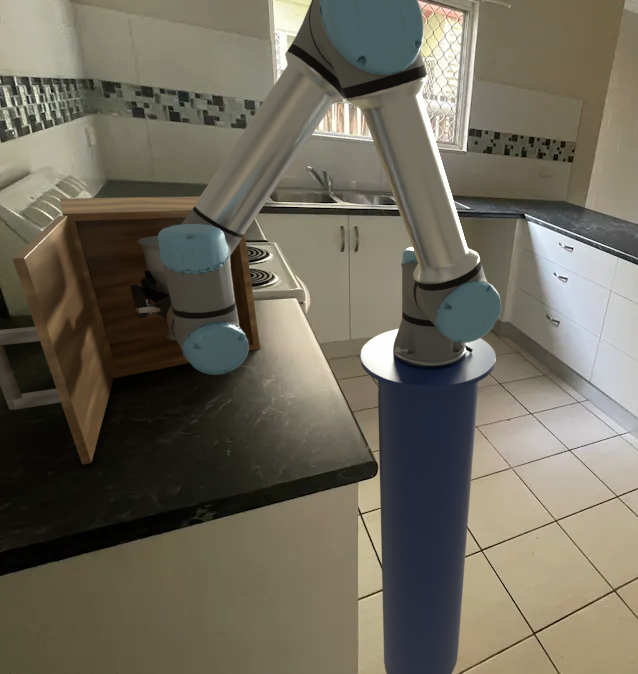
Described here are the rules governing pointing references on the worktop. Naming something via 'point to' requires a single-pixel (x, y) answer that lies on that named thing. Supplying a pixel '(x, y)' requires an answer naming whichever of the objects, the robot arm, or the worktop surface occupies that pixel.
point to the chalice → (155, 265)
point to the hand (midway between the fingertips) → (166, 276)
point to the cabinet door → (61, 336)
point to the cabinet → (139, 277)
